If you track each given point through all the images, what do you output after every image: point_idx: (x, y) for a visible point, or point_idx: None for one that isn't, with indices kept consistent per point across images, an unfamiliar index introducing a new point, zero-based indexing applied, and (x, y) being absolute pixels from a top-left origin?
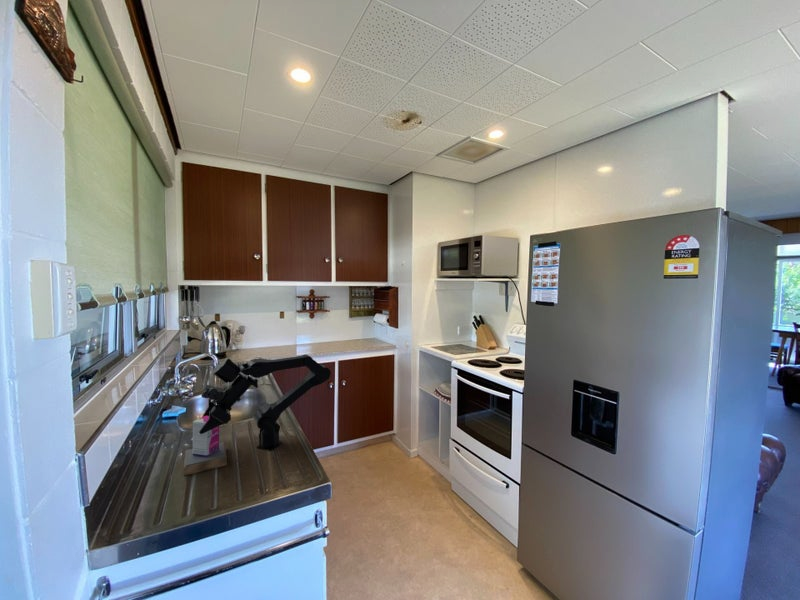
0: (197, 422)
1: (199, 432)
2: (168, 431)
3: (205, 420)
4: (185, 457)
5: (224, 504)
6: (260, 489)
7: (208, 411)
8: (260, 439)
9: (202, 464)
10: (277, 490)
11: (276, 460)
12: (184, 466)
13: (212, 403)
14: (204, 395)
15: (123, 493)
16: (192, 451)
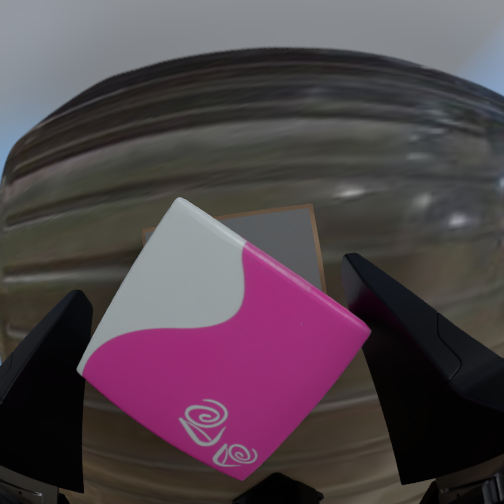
0: (138, 259)
1: (72, 292)
2: (496, 145)
3: (154, 356)
4: (236, 216)
5: (12, 351)
6: None
7: (415, 370)
8: (286, 497)
9: None
10: None
11: (162, 498)
12: (150, 229)
13: (490, 458)
14: None
15: (141, 98)
16: (278, 238)
